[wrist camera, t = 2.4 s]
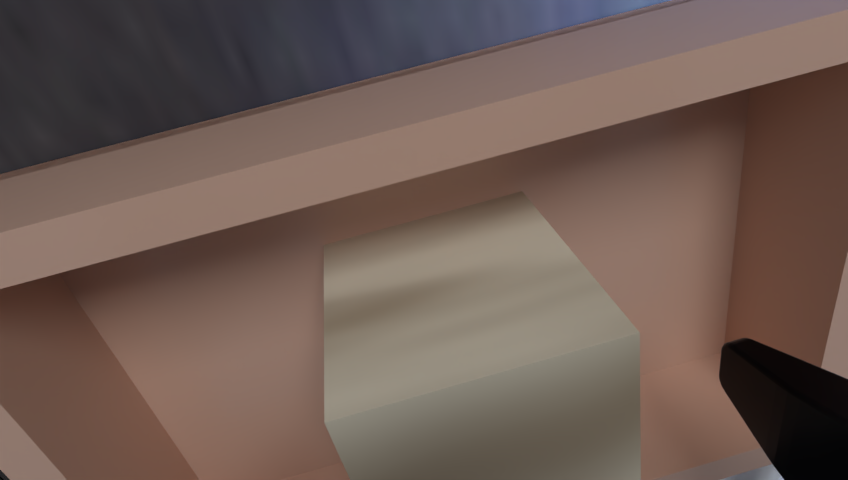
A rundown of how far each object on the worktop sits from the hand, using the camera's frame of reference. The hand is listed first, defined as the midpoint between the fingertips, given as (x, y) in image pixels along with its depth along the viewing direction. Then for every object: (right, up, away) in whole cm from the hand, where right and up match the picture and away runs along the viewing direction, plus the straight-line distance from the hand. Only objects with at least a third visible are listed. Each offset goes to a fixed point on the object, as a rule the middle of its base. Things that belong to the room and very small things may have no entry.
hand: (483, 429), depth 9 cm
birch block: (-1, +2, +3) cm, 4 cm away
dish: (-1, +2, +4) cm, 4 cm away
